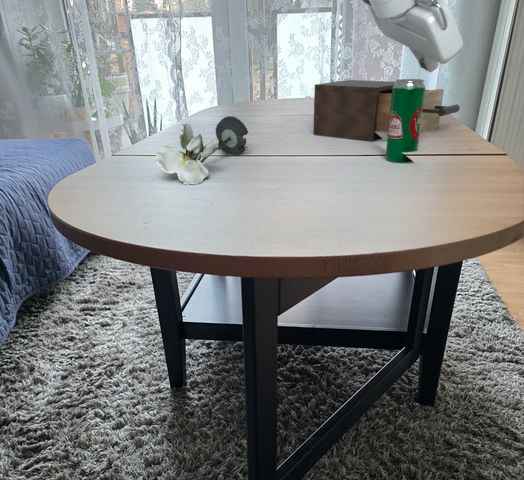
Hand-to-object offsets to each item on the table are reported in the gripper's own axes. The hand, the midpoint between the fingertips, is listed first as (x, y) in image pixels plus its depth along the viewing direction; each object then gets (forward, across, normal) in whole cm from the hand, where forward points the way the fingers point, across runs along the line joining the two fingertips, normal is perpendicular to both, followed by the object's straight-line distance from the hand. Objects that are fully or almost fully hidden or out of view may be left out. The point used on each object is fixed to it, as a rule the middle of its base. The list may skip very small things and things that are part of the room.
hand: (430, 67), depth 83 cm
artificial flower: (-12, 0, +38) cm, 40 cm away
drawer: (+15, +10, +5) cm, 19 cm away
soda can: (+6, -7, +12) cm, 15 cm away
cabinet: (+14, +19, +11) cm, 26 cm away
